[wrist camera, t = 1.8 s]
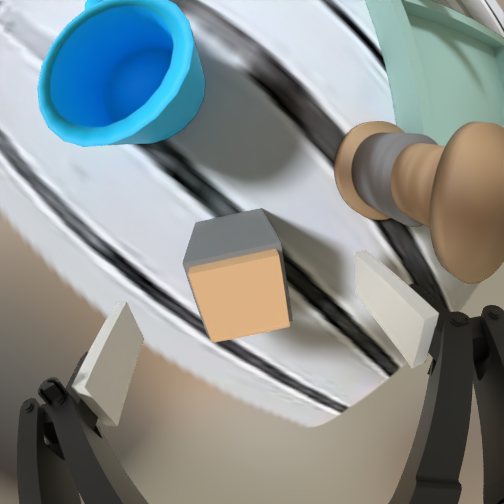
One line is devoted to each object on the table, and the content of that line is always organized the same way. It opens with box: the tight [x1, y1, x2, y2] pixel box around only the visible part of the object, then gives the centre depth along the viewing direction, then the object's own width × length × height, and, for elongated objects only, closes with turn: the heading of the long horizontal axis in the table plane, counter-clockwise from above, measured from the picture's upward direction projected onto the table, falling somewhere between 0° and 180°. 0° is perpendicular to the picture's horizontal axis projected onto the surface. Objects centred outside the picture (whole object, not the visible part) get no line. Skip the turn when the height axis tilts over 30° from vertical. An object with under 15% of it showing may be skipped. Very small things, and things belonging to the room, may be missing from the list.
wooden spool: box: [334, 121, 504, 284], centre depth 14 cm, size 8×8×12 cm
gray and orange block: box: [183, 208, 292, 343], centre depth 17 cm, size 5×5×8 cm
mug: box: [38, 0, 206, 147], centre depth 11 cm, size 12×8×8 cm
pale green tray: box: [365, 0, 504, 146], centre depth 16 cm, size 20×20×4 cm
